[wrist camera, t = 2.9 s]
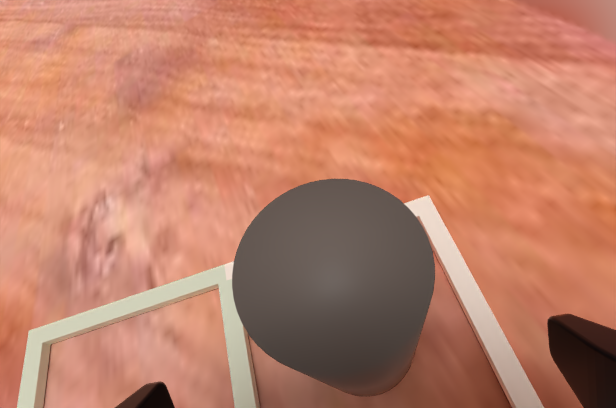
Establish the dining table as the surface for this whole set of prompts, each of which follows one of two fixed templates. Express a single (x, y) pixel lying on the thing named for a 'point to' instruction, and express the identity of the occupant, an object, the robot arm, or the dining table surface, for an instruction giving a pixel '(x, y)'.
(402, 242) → the grey cylinder
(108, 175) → the dining table surface
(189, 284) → the frame
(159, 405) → the robot arm
